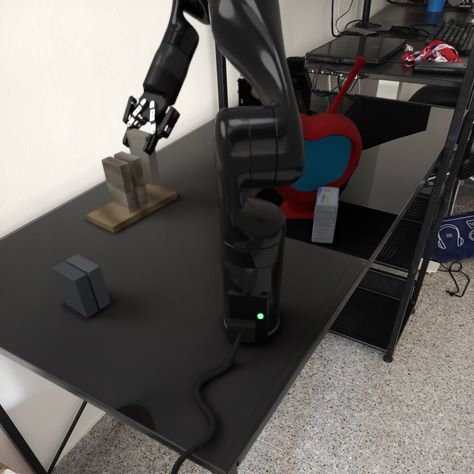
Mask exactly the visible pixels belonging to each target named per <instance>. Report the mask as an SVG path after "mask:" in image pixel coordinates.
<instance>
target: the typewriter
mask: <svg viewBox="0 0 474 474" xmlns="http://www.w3.org/2000/svg"><path fill="white" fill-rule="evenodd" d="M286 59H287V64H288V68H289V72H290V76H291V80H292V84H293V88H294V92H295V96H296V100H297V104H298V108H299V112H300V113H303V114H305V115H307V116H315V115H318V114H319V113H318V112H316V111H314V110H311V104H312V103H311V102H312V91H313V82H312V78H311V75H310V73H309V69H308V67H306V57H304V56H298V55H297V56H296V55H295V56H287V57H286ZM236 82H237V91H236V92H237V95H238V96H237V97H238V100H237V102H238V107H244V106H261V105H263V104H262V102H261V100H260V98H259V96H258V94H257V92H256V91H255V90H254V88H253V87H252V86H251V84H250V83H249V82H248V81H247V80H246V79H245V78H244V77H243V76H242V75H241V74H240V73H239V77H238V78H237V80H236Z"/></svg>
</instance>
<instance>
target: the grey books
mask: <svg viewBox="0 0 474 474" xmlns="http://www.w3.org/2000/svg"><path fill="white" fill-rule="evenodd" d="M51 269H52V272H53V274H54V276H55V279H56V282H57V284H58V287H59V289H60V292H61V294H62V297H63V299H64V302H65V305H66V306H68V307H69V308H70V309H72V310H74V311H75V312H77V313H79V314H81V315H82V316H84V317H85V318H86V319H88V318H90V317H92V316H93V315H95V314H97V313H98V312H99V311H100V310H103V308H105V307H107V306H109V305H110V304H111V303H112V302H111V300H110V296H109V293H108V288H107V285H106V282H105V280H104V279H105V278H104V276H103V272H102V269H101V266H100V265H99V264H97V263H95V262H94V261H91V260H90V259H88V258H86V257H84V256H83V255H80V254H79V253H77V254H75V255H73V256H71V257H70V258H68V259H66V260H65V261H62V262H59V264H57V265H55V266H53V267H52V268H51Z"/></svg>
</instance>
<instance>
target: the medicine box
mask: <svg viewBox="0 0 474 474" xmlns="http://www.w3.org/2000/svg"><path fill="white" fill-rule="evenodd" d="M339 199H340V188H333V187H319V189H318V195H317V201H316V206H315V213H314V219H313V225H312V233H311V234H312V235H311V242H312V243H318V244H319V243H320V244H331V245H332V244H333V242H334V237H335V230H336V224H337V223H336V222H337V218H338V217H337V216H338V209H339Z"/></svg>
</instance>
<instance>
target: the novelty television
mask: <svg viewBox="0 0 474 474" xmlns="http://www.w3.org/2000/svg"><path fill="white" fill-rule="evenodd" d="M366 63H367V59H366V58H364V57H363V56H361V55H357V57H356V58H355V61H354V64H353V66H352V68H351V70H350V72H349V74H348V76H347V77H346V79H345V81H344V83H343V84H342V86H341V88H340V90H339V92H338V93H337V95H336V97H335V99H334V100H333V102H332V103H331V105H330V106H329V107H328V110H327V111H325V112H321V113H318V115H315V116H307V115H305V114H303V113H300V112H299V113H300V117H301V122H302V127H303V133H304V141H305V165H304V170H303V173H302V176H301V178H300V179H299V181H298V182H296V183H295V184H293V185H290V186H286V187H278V188H274V189H275V191H276V192H277V193H278V194H279V195H280V196H281V197H282V198H283V201H282V203H280V205H279V208H280V209H281V210H282V211H283V212H284V214H285V218H286V220H314V213H315V206H316V201H317V195H318V189H319V187H333V188H339V189H340V188H341V187H342V186H343V185H344V184H346V182H348V180H349V179H350V178H351V176H352V175H353V174H354V172H355V170H356V169H357V166H358V165H359V163H360V159H361V157H362V151H363V140H362V136H361V133H360V132H359V130H358V127H357V126H356V124H355V123H354V122H353V121H352V120H351V119H350V118H349V117H347V116H346V115H344V114H341V113H340V112H338V109H339V107H340V105H341V103H342V102H343V100H344V98H345V96H346V95H347V93H348V91H349V90H350V88H351V86H352V84H353V83H354V81H355V79H356V77H357V76H358V75H359V73H360V71H361V70H362V68H363V67H364V66H365V65H366Z"/></svg>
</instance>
